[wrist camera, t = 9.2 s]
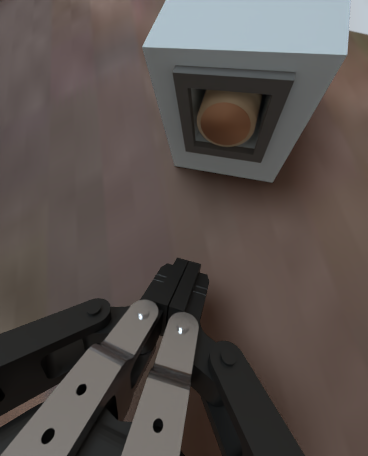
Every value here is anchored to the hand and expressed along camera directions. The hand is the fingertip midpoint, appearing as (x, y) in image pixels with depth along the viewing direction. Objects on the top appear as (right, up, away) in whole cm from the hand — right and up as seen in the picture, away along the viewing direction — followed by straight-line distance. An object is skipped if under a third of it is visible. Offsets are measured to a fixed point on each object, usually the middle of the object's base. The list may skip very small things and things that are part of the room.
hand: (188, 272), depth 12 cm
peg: (+4, +15, +5) cm, 16 cm away
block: (+5, +15, +9) cm, 18 cm away
